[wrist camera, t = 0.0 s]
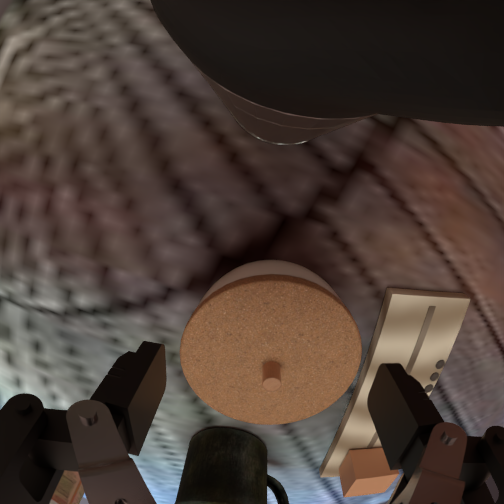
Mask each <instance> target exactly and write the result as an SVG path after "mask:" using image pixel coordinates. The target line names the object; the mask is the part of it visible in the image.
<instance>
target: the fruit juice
mask: <svg viewBox="0 0 504 504" xmlns="http://www.w3.org/2000/svg"><path fill="white" fill-rule="evenodd" d="M83 495H84V489H83V486H82V483H81V480H80V477H79V473H78V472H76V471H66V470H65V471H64V473H63V475H62V477H61V479H60V481H59V483H58V486H57V488H56V490H55V492H54V494H53V497H52V499H51V501H50V503H49V504H79V503H80V501H81V499H82V497H83Z"/></svg>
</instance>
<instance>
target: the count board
mask: <svg viewBox="0 0 504 504" xmlns="http://www.w3.org/2000/svg"><path fill="white" fill-rule="evenodd" d="M469 302H470V298H469V297H467V296H466V295H465V294H464V293H452V292H438V291H425V290H412V289H399V288H387V290H386V293H385V297H384V301H383V304H382V308H381V312H380V315H379V318H378V322H377V325H376V328H375V332H374V335H373V338H372V341H371V344H370V347H369V350H368V353H367V356H366V359H365V362H364V365H363V368H362V371H361V373H360V376H359V379H358V382H357V384H356V387H355V390H354V392H353V395H352V397H351V400H350V402H349V405H348V407H347V410H346V412H345V415H344V417H343V419H342V422H341V424H340V426H339V429H338V431H337V433H336V435H335V438H334V440H333V442H332V444H331V446H330V449H329V451H328V453H327V455H326V457H325V459H324V461H323V463H322V465H321V467H320V469H319V471H320V477H336V476H340V474H339V468H340V466H341V465H342V463H343V461H344V459H345V458H346V456H347V454H348V452H349V450H360V449H373V448H382V445H381V442H380V440H379V437H378V434H377V432H376V429H375V426H374V424H373V421H372V418H371V416H370V413H369V410H368V407H367V398H368V394H369V391H370V389H371V386H372V383H373V381H374V378H375V375H376V373H377V370H378V367H379V366H380V364H382V363H400V364H401V365H402V366H403V368H404V369H405V371H406V372H407V374H408V375H411V376H412V377H414V378H415V379H416V380H417V381H419V382H420V383H421V385H422V387H423V388H424V390H425V393H427V394H428V396H429V395H430V394H431V392H432V390H433V388H434V386H435V384H436V382H437V380H438V378H439V375H440V373H441V371H442V369H443V367H444V365H445V363H446V360H447V358H448V356H449V354H450V351H451V349H452V347H453V344H454V342H455V339H456V337H457V334H458V332H459V329H460V327H461V324H462V321H463V319H464V316H465V313H466V310H467V308H468V305H469Z"/></svg>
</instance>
